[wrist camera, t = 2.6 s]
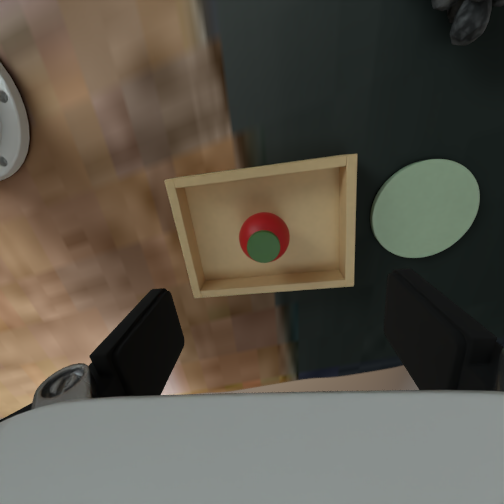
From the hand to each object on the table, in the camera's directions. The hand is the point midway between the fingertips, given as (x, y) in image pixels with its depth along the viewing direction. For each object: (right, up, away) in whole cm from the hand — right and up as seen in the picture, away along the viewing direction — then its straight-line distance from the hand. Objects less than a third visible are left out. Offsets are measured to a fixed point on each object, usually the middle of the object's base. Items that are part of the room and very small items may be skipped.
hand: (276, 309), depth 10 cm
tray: (0, +5, +13) cm, 14 cm away
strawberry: (0, +5, +13) cm, 14 cm away
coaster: (+15, +6, +12) cm, 20 cm away
